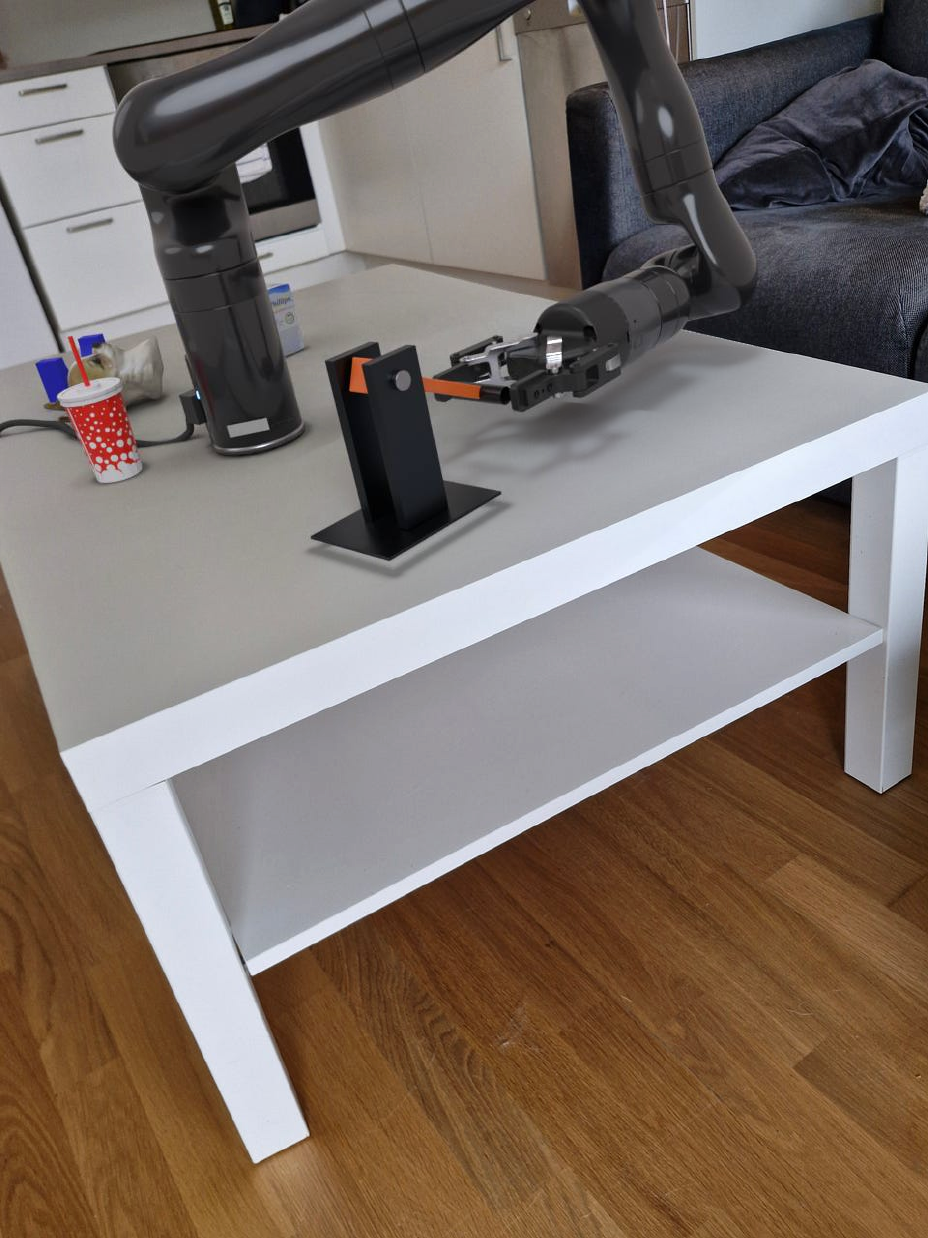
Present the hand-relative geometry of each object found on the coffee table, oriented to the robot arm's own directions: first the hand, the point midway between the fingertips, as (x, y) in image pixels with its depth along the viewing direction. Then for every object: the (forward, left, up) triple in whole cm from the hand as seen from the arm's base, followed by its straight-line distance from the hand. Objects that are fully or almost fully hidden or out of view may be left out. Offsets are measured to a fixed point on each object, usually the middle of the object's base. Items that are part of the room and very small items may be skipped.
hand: (473, 395), depth 81 cm
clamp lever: (0, -5, +1) cm, 5 cm away
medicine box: (-60, +23, -8) cm, 65 cm away
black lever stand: (0, -9, -7) cm, 12 cm away
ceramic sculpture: (-62, 0, -8) cm, 62 cm away
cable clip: (-77, +3, -8) cm, 77 cm away
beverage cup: (-40, -12, -8) cm, 43 cm away
